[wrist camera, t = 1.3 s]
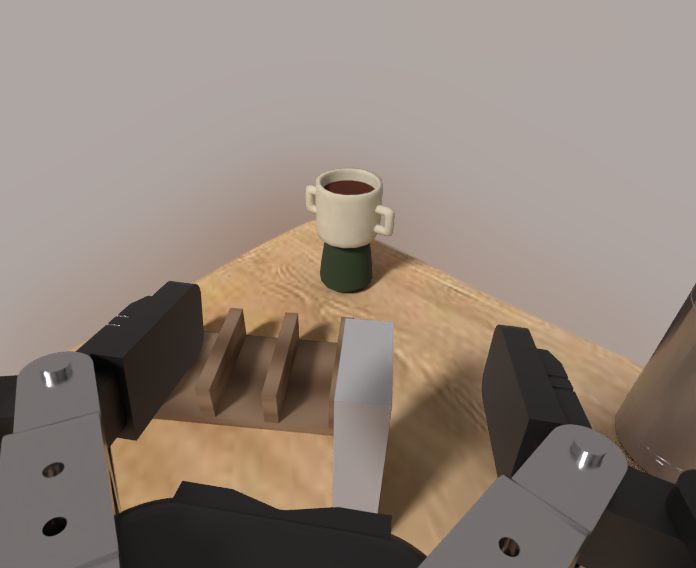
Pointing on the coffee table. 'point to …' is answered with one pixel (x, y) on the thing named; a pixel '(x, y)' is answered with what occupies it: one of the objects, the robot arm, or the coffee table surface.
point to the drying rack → (259, 380)
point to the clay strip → (362, 413)
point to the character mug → (348, 224)
